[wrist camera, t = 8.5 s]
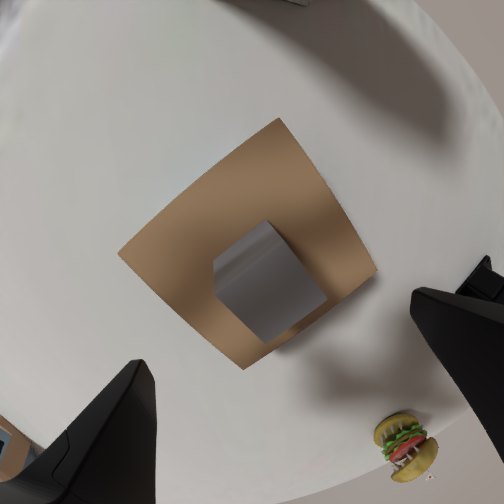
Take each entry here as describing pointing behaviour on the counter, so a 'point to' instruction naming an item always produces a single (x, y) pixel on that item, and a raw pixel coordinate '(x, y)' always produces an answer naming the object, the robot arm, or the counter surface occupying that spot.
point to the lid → (252, 248)
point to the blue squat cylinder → (13, 451)
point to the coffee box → (301, 2)
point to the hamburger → (406, 446)
